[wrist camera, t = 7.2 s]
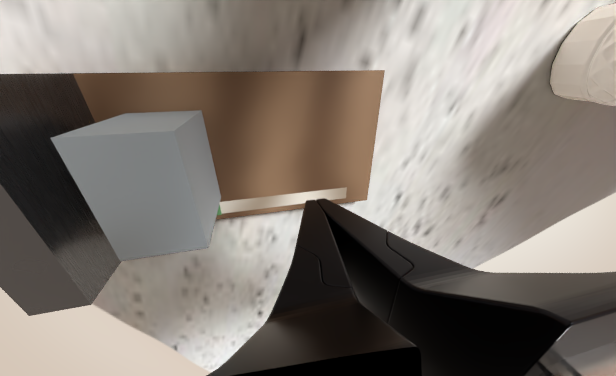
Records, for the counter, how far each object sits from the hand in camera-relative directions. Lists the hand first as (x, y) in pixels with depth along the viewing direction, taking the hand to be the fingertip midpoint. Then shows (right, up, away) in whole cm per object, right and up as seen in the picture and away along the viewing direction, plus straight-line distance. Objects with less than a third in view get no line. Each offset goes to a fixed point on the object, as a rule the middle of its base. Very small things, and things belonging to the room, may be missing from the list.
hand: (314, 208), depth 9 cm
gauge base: (-5, +4, +6) cm, 9 cm away
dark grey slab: (-14, +3, +5) cm, 15 cm away
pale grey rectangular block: (-9, +2, +5) cm, 10 cm away
